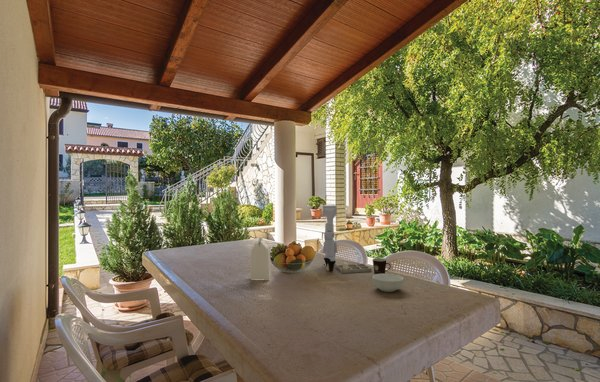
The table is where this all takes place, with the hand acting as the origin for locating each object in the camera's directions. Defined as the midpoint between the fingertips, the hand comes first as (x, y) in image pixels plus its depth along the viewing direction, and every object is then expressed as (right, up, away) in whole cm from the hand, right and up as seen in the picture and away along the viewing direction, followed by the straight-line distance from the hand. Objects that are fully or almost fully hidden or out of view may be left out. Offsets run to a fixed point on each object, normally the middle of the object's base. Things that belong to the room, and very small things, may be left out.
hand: (329, 269), depth 222 cm
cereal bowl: (+28, -2, -41) cm, 50 cm away
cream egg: (+10, 0, -4) cm, 11 cm away
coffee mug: (+31, -1, -12) cm, 34 cm away
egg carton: (+16, -1, +1) cm, 16 cm away
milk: (-44, -2, -13) cm, 46 cm away
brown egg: (0, -1, 0) cm, 1 cm away
